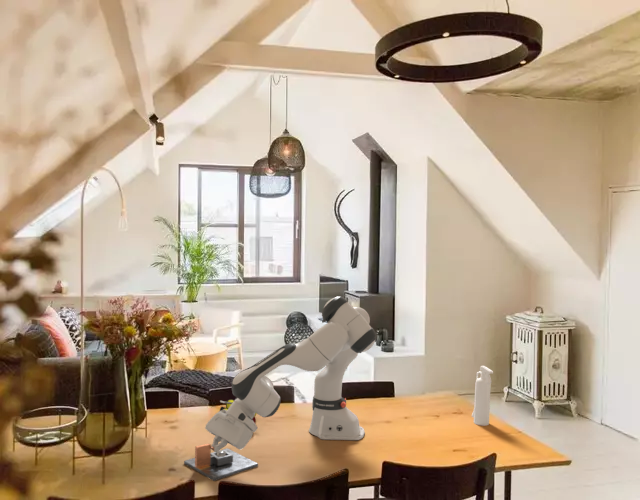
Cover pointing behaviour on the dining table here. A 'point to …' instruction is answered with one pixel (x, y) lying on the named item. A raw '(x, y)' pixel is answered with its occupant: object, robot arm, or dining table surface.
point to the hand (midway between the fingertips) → (213, 450)
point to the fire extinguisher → (482, 397)
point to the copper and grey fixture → (210, 456)
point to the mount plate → (224, 466)
